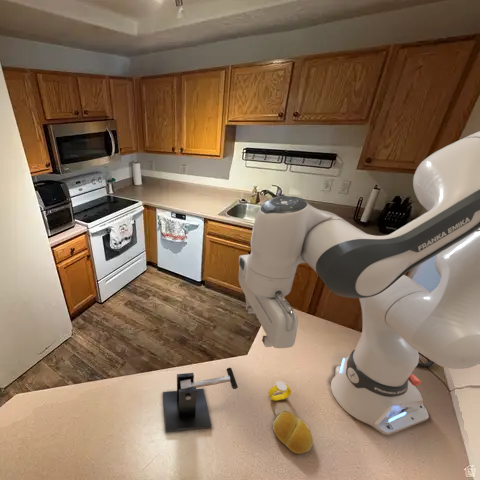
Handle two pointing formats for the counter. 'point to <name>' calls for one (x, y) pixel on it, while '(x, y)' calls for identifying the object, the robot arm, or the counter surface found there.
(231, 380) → the lever
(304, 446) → the bread roll
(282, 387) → the watch
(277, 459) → the counter surface
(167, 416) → the bracket
